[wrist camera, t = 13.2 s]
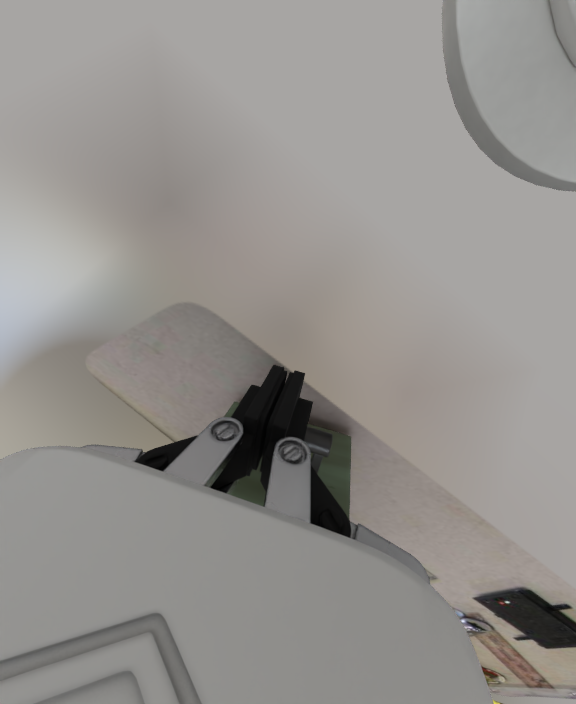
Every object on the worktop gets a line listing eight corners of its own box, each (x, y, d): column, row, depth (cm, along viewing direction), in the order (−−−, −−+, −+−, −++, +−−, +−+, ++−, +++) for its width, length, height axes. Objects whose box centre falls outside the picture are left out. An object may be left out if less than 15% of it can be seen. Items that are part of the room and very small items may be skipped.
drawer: (237, 361, 20) (175, 432, 13) (367, 397, 18) (373, 498, 12) (228, 489, 28) (189, 572, 22) (316, 520, 27) (303, 619, 20)
